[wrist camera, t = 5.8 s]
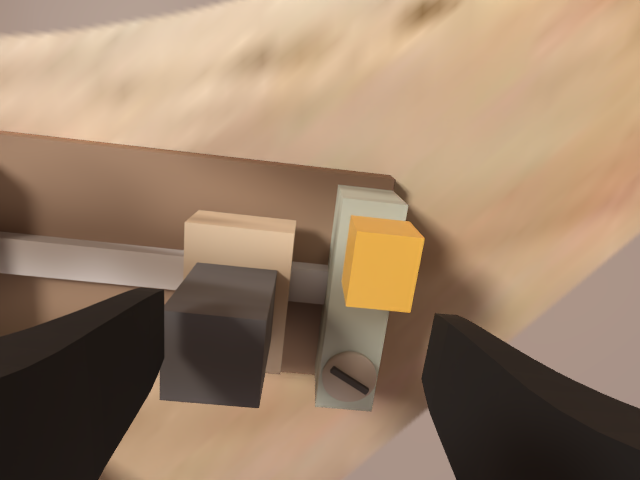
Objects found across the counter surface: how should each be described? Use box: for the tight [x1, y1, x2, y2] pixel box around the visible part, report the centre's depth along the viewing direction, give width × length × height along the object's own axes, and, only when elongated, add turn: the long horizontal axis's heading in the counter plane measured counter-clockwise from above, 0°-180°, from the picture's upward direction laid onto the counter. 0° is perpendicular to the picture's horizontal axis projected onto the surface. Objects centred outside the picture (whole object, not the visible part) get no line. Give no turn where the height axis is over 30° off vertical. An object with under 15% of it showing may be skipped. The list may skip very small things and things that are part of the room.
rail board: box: [0, 131, 408, 411], centre depth 18 cm, size 10×20×5 cm, turn 83°
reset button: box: [341, 215, 425, 313], centre depth 14 cm, size 2×2×2 cm
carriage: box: [160, 210, 296, 408], centre depth 15 cm, size 6×4×6 cm, turn 173°
